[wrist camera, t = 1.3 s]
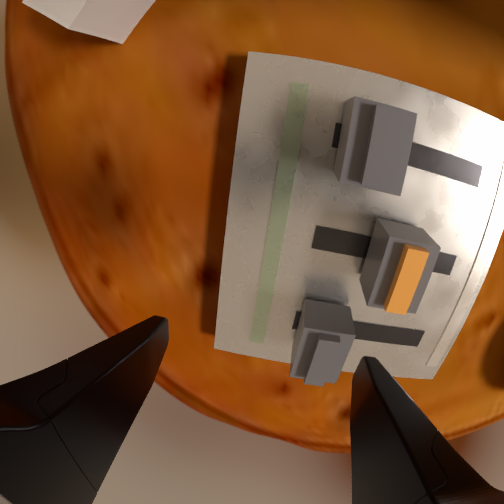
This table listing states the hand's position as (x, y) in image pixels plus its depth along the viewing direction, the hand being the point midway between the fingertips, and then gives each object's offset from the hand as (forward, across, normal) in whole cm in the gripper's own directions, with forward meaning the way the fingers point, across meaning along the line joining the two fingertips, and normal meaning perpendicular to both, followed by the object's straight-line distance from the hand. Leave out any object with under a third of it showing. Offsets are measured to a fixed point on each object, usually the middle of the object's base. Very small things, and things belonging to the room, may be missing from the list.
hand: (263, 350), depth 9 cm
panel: (+12, -6, 0) cm, 13 cm away
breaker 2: (+10, -4, -6) cm, 12 cm away
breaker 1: (+10, -3, +6) cm, 12 cm away
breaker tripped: (+10, -6, 0) cm, 12 cm away
